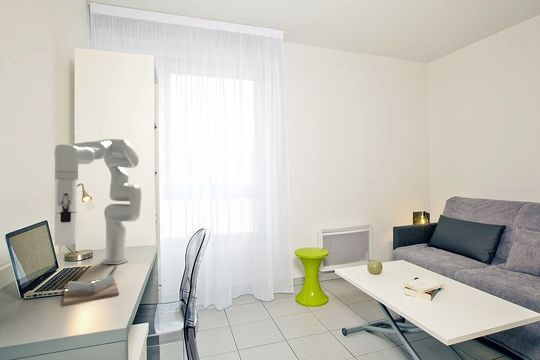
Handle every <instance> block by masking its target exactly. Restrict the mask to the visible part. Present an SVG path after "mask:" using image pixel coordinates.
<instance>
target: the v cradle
mask: <svg viewBox="0 0 540 360" xmlns="http://www.w3.org/2000/svg"><path fill="white" fill-rule="evenodd" d="M98 279H99V281H96V278H95V279H90V280H84V281H76V280H75V281H72V280H70V281H68V282H67V283H65V284H64V287H65V286H67V287H68V291H66V292H64V291H63V306H67V305H71V304H72V305H73V304H78V303H83V302H90V301H92V300H93V301H94V300H99V299H104V298H109V297H115V296H119V295H120V291H119V288H118V286H117V284H116V280H115V278H114V275H113V274H110V275H107V276H105V277H103V278H97V280H98ZM92 281H96V282H94V283H91V282H92Z"/></svg>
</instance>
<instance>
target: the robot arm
mask: <svg viewBox="0 0 540 360" xmlns="http://www.w3.org/2000/svg"><path fill="white" fill-rule="evenodd" d="M101 159H102V160H104V163H105V165H106V167H107V168H108V170H109V172H110V175H111V176H110V177H111V178H110V185H109V186H110V188H109V198H110V200H111V201H114V202H129V203H111V204H108V205H107V206H106V207H105V208H104V210H103V211H104V212H103V214H104V221H105V258H103V259H102V261H101V262H102V264H103V265H107V264H115V265H120V264H124V263H127V262H128V261H129V257H128V256H126V236H127V235H126V233H127V232H126V230H127V229H126V226H125V224H124V223H123V222H131V223H132V222H136V221H138V220H139V218H140V214H141V207H142V206H141V205H142V204H141V203H142V190H141V187H140V186H139V185H138V184H129V174H128V172H127V170H126V169H125V168H127V169H129V168H130V169H132V168H136V167H137V166H138V165H139V162H140V161H139V156H138V154H137V152H136V151H135V149H134V147H133V146H132V145H131V143H130V142H129V141H128V140H126V139H117V138H116V139H115V138H106V139H100V140H95V141H85V142H84V141H83V142H77V143H67V144H57V145H56V146H55V147H54V180H55V181H58V190H57V205H59V204H61V202H62V204H61V205H62V206H61V222H70V221H71V212H70V205H71V204H72V202H73V191H74V185H73V181H78V180H79V165H89V164H91V163H93V162H94V160H101ZM62 200H64V201H62ZM68 200H69V204H67V202H68Z"/></svg>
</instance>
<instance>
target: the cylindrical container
mask: <svg viewBox="0 0 540 360" xmlns="http://www.w3.org/2000/svg"><path fill="white" fill-rule="evenodd" d="M54 184H55V185H54V195H55V196H54V245H55V246H58V247H60V246H61V247H63V246H70V245H75V244H77V241H78V240H77V238H78V236H77V235H78V233H77V232H78V224H77V223H78V180H74V181H73V185H74V191H73V202H72V204H71V205H70V212H71V221H70V222H61V206H62V205H61V204H62V202H61V204H59V205H57V190H58V180H55V182H54ZM62 201H64V200H62ZM67 204H69V200H68V202H67Z"/></svg>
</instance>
